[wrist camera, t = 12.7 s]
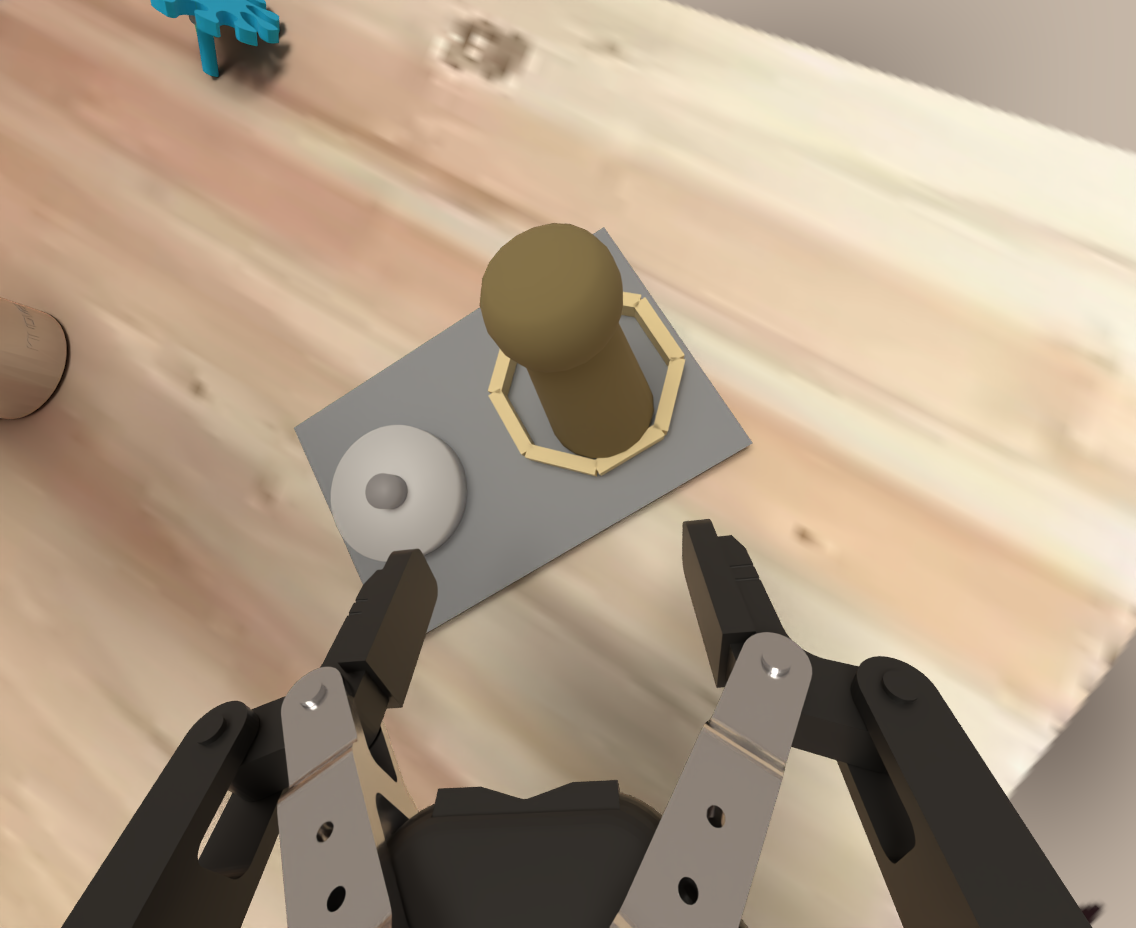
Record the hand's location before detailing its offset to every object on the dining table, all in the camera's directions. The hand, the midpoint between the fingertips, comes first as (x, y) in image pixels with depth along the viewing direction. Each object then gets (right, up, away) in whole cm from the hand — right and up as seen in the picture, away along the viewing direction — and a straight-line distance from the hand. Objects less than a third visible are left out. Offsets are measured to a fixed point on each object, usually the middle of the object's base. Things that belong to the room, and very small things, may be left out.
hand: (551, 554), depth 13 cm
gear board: (-3, +4, +14) cm, 15 cm away
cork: (+2, +6, +11) cm, 13 cm away
